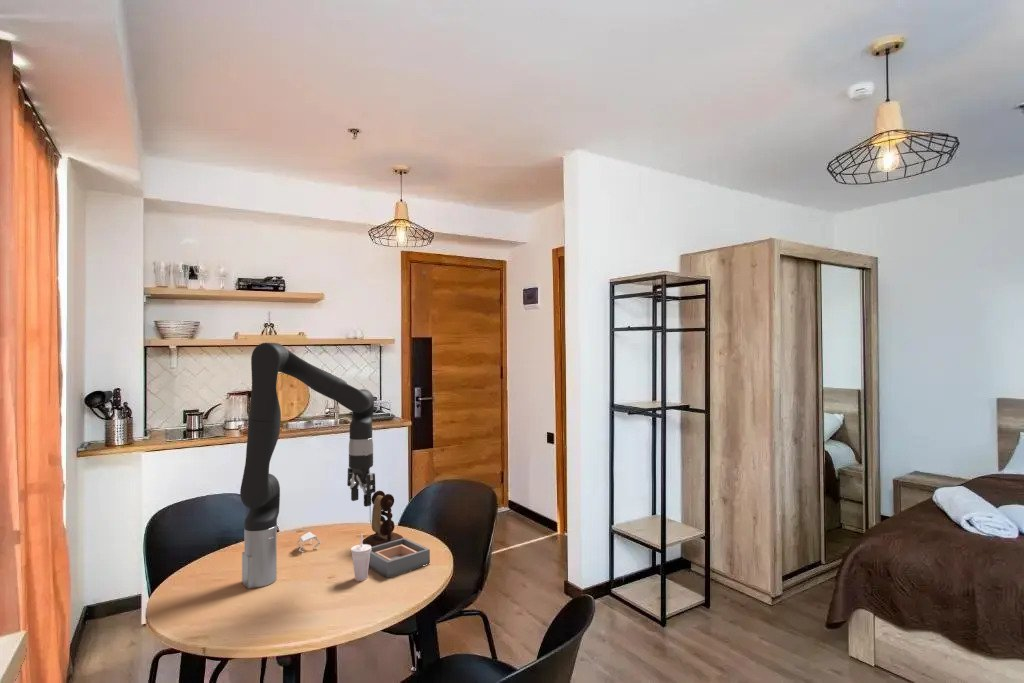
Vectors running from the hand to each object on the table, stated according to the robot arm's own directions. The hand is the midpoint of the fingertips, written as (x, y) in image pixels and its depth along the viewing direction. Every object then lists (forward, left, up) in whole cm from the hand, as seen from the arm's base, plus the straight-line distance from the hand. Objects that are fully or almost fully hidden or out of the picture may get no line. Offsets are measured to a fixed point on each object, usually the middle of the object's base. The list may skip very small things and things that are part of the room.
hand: (361, 503), depth 168 cm
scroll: (+19, +20, -24) cm, 37 cm away
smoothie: (0, 0, -24) cm, 24 cm away
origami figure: (-1, +38, -24) cm, 45 cm away
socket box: (+14, +2, -24) cm, 28 cm away
